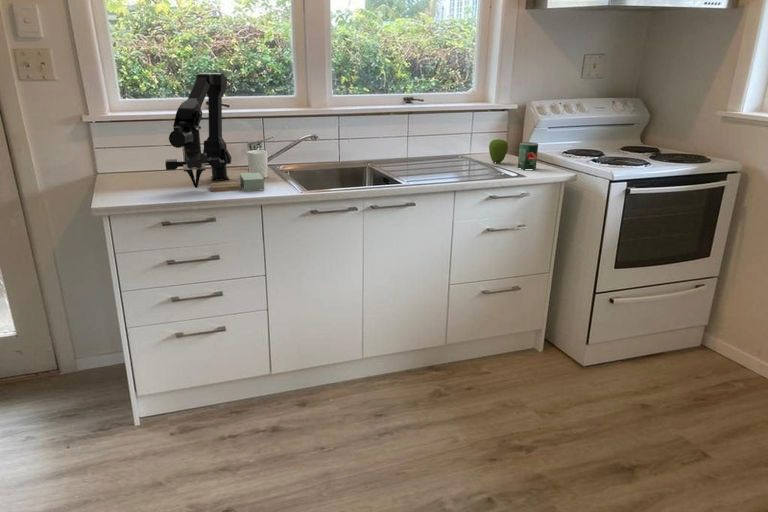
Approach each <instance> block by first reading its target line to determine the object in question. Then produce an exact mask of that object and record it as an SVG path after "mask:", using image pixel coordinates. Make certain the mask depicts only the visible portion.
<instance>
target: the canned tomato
mask: <svg viewBox="0 0 768 512" xmlns="http://www.w3.org/2000/svg"><path fill="white" fill-rule="evenodd" d="M538 149H539V143H538V142H532V141H529V142H526V141H522V142H519V148H518V161H517V169H518V168H521V169H536V170H537V162H538V161H537V160H538V151H539V150H538Z"/></svg>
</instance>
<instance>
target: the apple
mask: <svg viewBox="0 0 768 512" xmlns="http://www.w3.org/2000/svg"><path fill="white" fill-rule="evenodd" d="M508 148H509V144H508V142H507V141H506V140H505V139H501V138H498V139H492V140H491V141H490V143H489V145H488V150H489V152H488V153H489V155H490V159H491V161H492V163H494V162H496V163H499V164H501V163H502V162H503V161H504V160H505V157H506V155H507V153H508ZM500 162H501V163H500Z"/></svg>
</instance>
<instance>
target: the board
mask: <svg viewBox="0 0 768 512" xmlns="http://www.w3.org/2000/svg"><path fill="white" fill-rule="evenodd" d="M241 188H242V187H241V183H240V182H239V181H228V182H215V183H213V182H211V183H210V190H211V192H213V191H214V192H227V191H229V190H231V191H241ZM229 192H230V191H229Z"/></svg>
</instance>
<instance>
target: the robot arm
mask: <svg viewBox="0 0 768 512" xmlns="http://www.w3.org/2000/svg"><path fill="white" fill-rule="evenodd" d="M227 85H228V78H227V76H225V74H224V73H223V72H199V73H197V74H196V76H195V82H194V84H193V86H192V89H191V91H190V92H189V96H188V98H187V99H186V100H185V101H183V102H181V103H180V105H179V107H178V108H177V111H176V112H175V113H176V114H175V116H174V121H173V122H174V123H173V125H172V127H173V130H172V131H171V132H170V133H169V136H168V141H169V143H170V145H171V146H172V147H174V148H176V149H180V148H183V155H184V156H183V157H184V160H182V161H178V159H177V158H174V159H170V158H169V159H166V160H165V163H164V164H165V170H166V171H174V170H175V171H176V170H177V169H178V168H181V167H182V169H183V170H182V171H183V172H186V173H187V174H188V175H189V178H190V179H191V183H192V185H193V187H194V188H195V189H197V188H198V187H199V182H200V177H201V175H202V173H203V171H204V172H205V171H206V166H210V167H211V176H210V180H211V181H226V180H228V181H229V180H230V176H228V167H227V165H229V164H231V163H232V156H231V154H230V152H229V151H228V147H227V143H226V141H225V140H224V138H223V133H222V132H223V119H222V118H223V108H222V107H223V105H222V102H223V100H222V99H223V97H224V95H225V93H226V92H227ZM206 96H207V97H208V98H207V101H208V137H207V138H206V140H204V141H203V149H202V148H201V145H202V144H201V134H200V130H201V129H202V126H201V125H200V123H201V120H202V118H203V110H202V105H203V103H204V100H205V98H206ZM202 150H203V152H202ZM193 169H195V176H194V171H193Z"/></svg>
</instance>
